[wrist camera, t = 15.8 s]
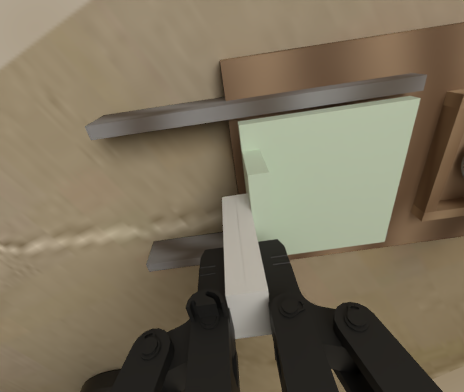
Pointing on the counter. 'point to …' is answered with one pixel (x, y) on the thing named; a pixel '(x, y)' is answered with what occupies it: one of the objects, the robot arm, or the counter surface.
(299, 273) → the counter surface
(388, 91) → the housing
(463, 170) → the beer can
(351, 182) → the lid
